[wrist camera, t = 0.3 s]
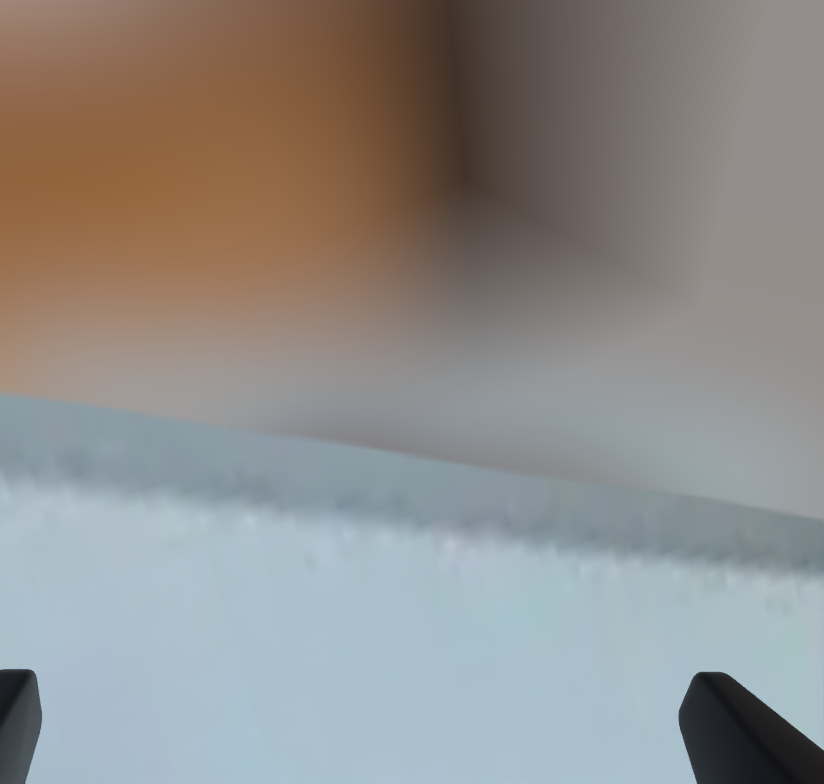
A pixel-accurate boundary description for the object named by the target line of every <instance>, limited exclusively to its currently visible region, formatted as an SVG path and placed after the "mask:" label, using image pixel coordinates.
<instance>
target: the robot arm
mask: <svg viewBox="0 0 824 784" xmlns="http://www.w3.org/2000/svg"><path fill="white" fill-rule="evenodd" d="M41 723H42V711H41V704H40V697H39V690H38V683H37V677H36V674H35V673H34V671H32V670H29V669H3V670H0V784H25V781H26V778H27V775H28V771H29V768H30V764H31V761H32V758H33V754H34V751H35V747H36V744H37V741H38V737H39V734H40V729H41ZM679 726H680V730H681V733H682V736H683V740H684V743H685V746H686V749H687V752H688V756H689V759H690V762H691V765H692V769H693V772H694V775H695V778H696V781H697V784H824V750H822V749H821V748H820V747H819V746H817V745H816V744H815V743H814V742H812V741H811V740H810V739H809V738H807V737H806V736H805V735H804V734H802V733H801V732H800V731H799V730H797V729H796V728H795V727H794V726H792V725H791V724H790V723H789V722H787V721H786V720H785V719H783V718H782V717H781V716H780V715H778V714H777V713H776V712H775V711H773V710H772V709H771V708H770V707H768V706H767V705H766V704H765V703H763V702H762V701H761V700H760V699H758V698H757V697H756V696H755V695H753V694H752V693H751V692H750V691H748V690H747V689H746V688H745V687H743V686H742V685H741V684H740V683H738V682H737V681H736V680H735V679H733V678H732V677H731V676H729V675H728V674H726V673H723V672H699V673H697V674H696V675H695V676H694V677H693V679H692V681H691V684H690V686H689V688H688V691H687V693H686V695H685V697H684V700H683V702H682V704H681V707H680V710H679Z"/></svg>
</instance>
